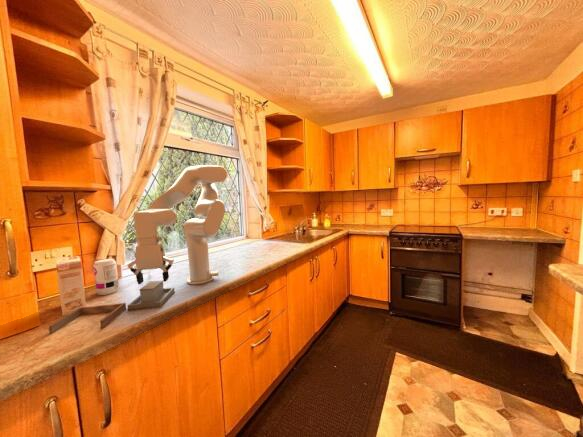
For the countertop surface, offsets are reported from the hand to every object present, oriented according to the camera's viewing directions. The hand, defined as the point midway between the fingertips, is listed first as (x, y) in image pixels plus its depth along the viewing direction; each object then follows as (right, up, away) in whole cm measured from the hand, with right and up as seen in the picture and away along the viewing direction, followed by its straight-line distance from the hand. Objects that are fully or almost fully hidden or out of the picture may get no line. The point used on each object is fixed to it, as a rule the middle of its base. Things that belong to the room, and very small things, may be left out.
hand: (153, 281), depth 98 cm
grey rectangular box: (0, -7, 0) cm, 7 cm away
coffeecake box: (-30, -10, -3) cm, 31 cm away
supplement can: (-28, -8, +12) cm, 32 cm away
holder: (-13, -10, -15) cm, 22 cm away
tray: (0, -8, 0) cm, 8 cm away
